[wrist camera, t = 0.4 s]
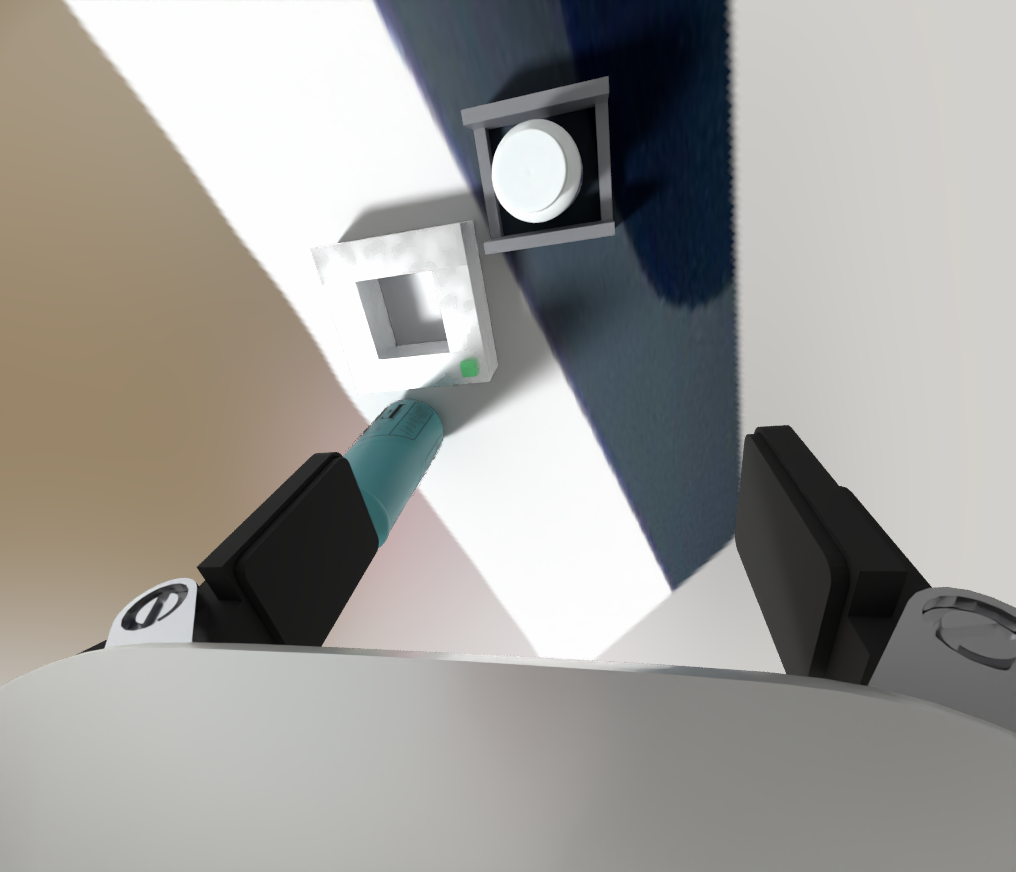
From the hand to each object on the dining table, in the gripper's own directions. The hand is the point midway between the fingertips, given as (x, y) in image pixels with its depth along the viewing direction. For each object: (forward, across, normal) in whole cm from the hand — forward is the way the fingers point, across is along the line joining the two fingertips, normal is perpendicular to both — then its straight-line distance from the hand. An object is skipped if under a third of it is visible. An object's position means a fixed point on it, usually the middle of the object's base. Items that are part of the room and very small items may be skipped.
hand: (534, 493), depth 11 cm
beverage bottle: (+29, +17, +12) cm, 35 cm away
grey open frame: (+29, +2, -7) cm, 30 cm away
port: (+29, +14, +1) cm, 32 cm away
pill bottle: (+29, +2, -7) cm, 30 cm away
